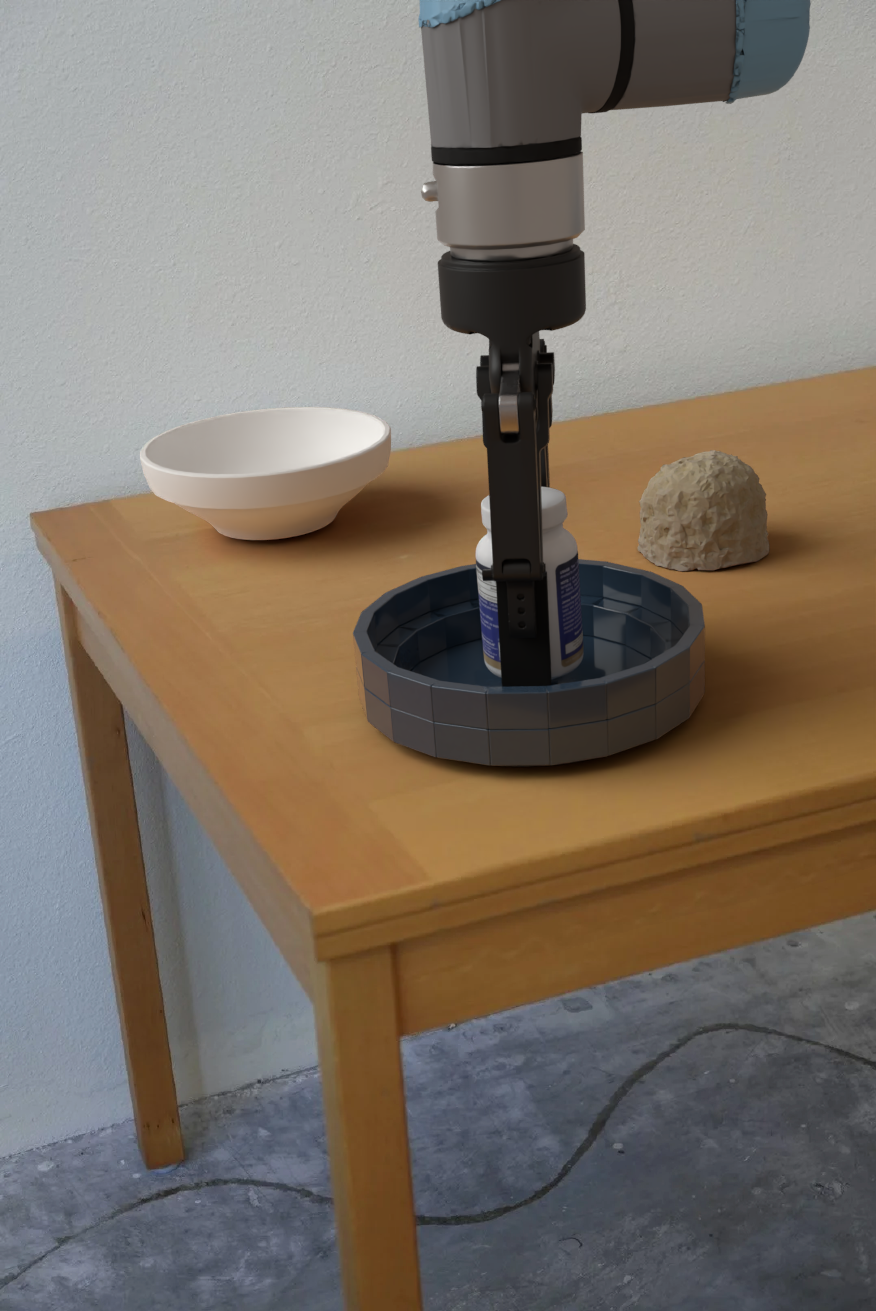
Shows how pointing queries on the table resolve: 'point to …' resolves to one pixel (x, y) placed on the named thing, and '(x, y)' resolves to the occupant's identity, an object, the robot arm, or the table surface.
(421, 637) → the blue bowl
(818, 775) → the table surface
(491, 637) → the pill bottle
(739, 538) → the beige rock
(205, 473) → the bowl
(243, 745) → the table surface
